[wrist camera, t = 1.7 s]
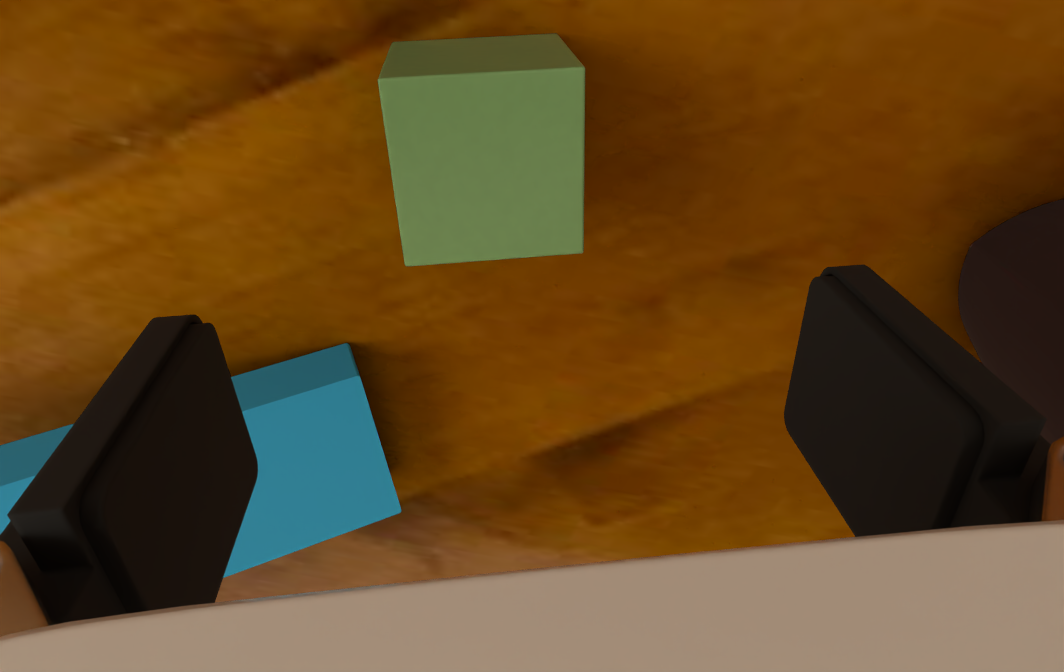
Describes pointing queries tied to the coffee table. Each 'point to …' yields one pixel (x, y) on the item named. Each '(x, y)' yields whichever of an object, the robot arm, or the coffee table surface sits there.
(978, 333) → the cup
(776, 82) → the coffee table surface
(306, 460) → the lever
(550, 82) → the green toy block
